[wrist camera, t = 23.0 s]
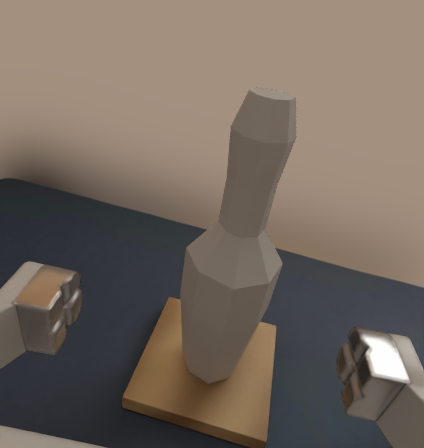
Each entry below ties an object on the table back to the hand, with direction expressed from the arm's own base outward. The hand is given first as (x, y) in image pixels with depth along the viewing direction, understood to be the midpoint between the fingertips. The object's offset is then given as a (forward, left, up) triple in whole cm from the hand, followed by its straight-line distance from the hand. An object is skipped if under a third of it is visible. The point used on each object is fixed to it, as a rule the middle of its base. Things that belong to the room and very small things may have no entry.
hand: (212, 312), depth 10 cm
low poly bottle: (+6, +10, -18) cm, 22 cm away
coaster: (+6, +10, -20) cm, 23 cm away
